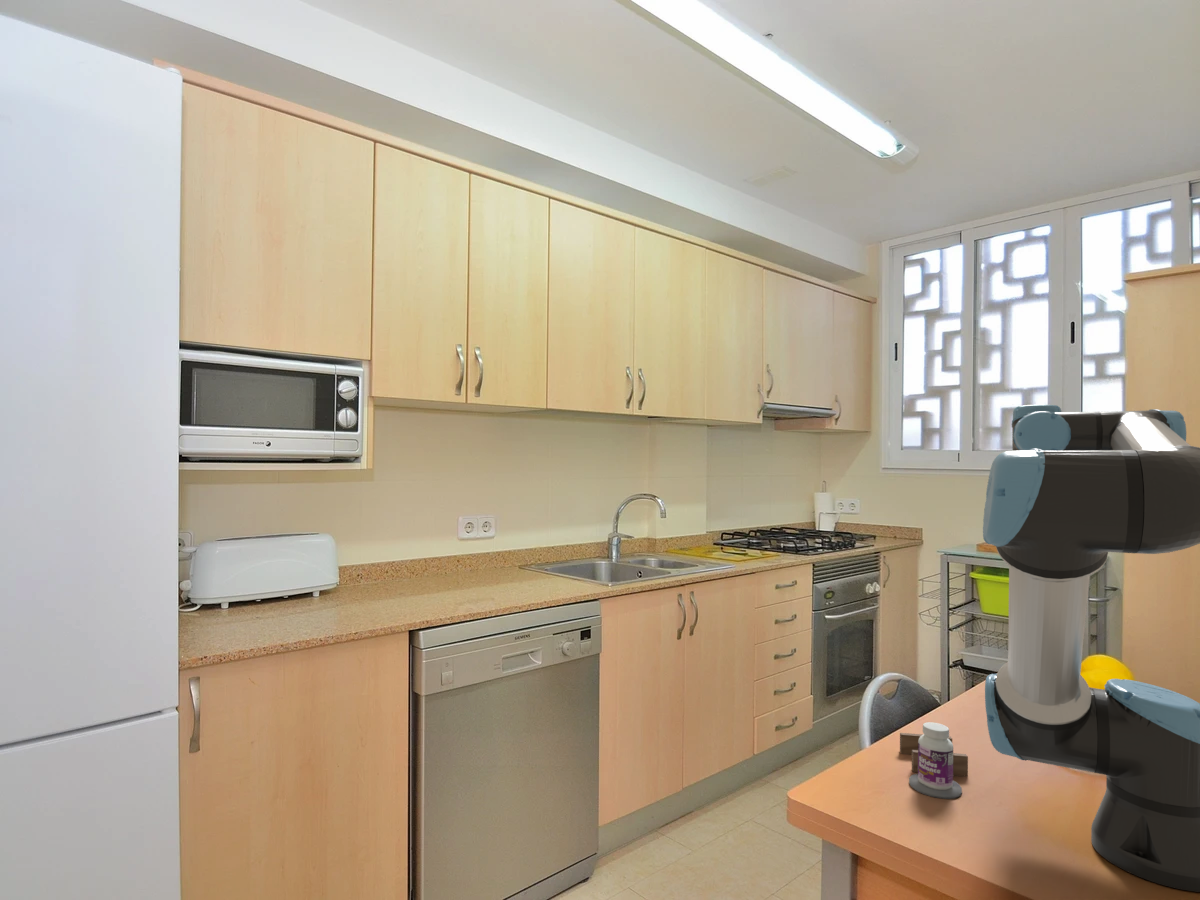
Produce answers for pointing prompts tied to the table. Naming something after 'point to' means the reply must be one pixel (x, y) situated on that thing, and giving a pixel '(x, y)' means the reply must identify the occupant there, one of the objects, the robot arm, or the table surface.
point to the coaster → (944, 794)
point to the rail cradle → (911, 747)
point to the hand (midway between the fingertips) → (1036, 611)
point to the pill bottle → (935, 757)
